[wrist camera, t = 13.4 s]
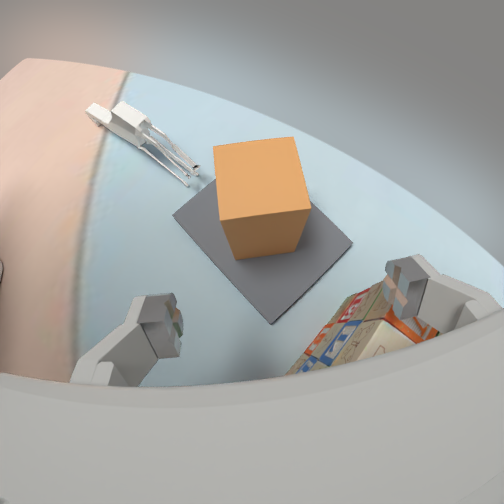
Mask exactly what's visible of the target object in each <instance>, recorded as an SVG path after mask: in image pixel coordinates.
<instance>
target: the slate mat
mask: <svg viewBox="0 0 504 504" xmlns="http://www.w3.org/2000/svg"><path fill="white" fill-rule="evenodd" d="M310 204H311V211H310V213H309V216H308V219H307V221H306V224H305V226H304V229H303V231H302V234H301V236H300V239H299V241H298V244H297V246H296V249H295V251H294V252H290V253H283V254H276V255H269V256H261V257H254V258H247V259H240V260H235V258H234V256H233V253H232V251H231V248H230V246H229V243H228V240H227V238H226V235H225V233H224V230H223V227H222V225H221V222H220V217H219V207H218V197H217V186H216V179H215V180H214V181H212V182H211V183H210V184H209V185H207V186H206V187H205V188H204V189H202V190H201V191H200V192H199V193H198V194H196V195H195V196H194V197H193V198H192V199H190V200H189V201H188V202H187V203H186V204H184V205H183V206H182V207H181V208H180V209H179V210H177V211H176V212H175V213H174V214H173V215H172V216H173V217H174V218H175V220H176V221H177V222H178V223H179V224H180V225H181V226H182V228H183V229H184V230H185V231H186V232H187V233H188V234H189V236H190V237H191V238H192V239H193V240H194V241H195V242H196V244H197V245H198V246H199V247H200V248H201V249H202V250H203V251H204V253H205V254H206V255H207V256H208V257H209V258H210V259H211V260H212V261H213V263H214V264H215V265H216V266H217V267H218V268H219V269H220V270H221V271H222V273H223V274H224V275H225V276H226V277H227V278H228V279H229V280H230V281H231V282H232V284H233V285H234V286H235V287H236V288H237V289H238V290H239V291H240V292H241V293H242V294H243V296H244V297H245V298H246V299H247V300H248V301H249V302H250V303H251V304H252V305H253V306H254V307H255V308H256V309H257V311H258V312H259V313H260V314H261V315H262V316H263V317H264V318H265V319H266V320H267V321H268V322H269V323H270V324H272V323H273V322H274V321H275V320H276V319H277V318H278V317H279V316H280V315H281V314H282V313H283V312H284V311H286V310H287V309H288V308H289V307H290V306H291V305H292V304H293V303H294V302H295V301H296V300H297V299H298V298H299V297H300V296H301V295H302V294H303V293H304V292H305V291H306V290H307V289H308V288H309V287H310V286H311V285H312V284H313V283H314V282H315V281H316V280H317V279H318V278H319V277H320V276H321V275H322V274H323V273H324V272H325V271H326V270H327V269H328V268H329V267H330V266H331V265H332V264H333V263H334V262H335V261H336V260H337V259H338V258H339V257H340V256H341V255H342V254H343V253H344V252H345V251H346V250H347V249H348V248H349V247H350V246H351V245H352V243H353V242H352V241H351V240H350V239H349V238H348V237H347V236H346V235H345V234H344V233H343V232H342V231H341V230H340V229H339V228H338V227H337V226H336V225H335V224H334V223H333V222H332V221H331V220H330V219H329V218H328V217H327V216H326V215H324V214H323V213H322V212H321V211H320V210H319V209H318V208H317V207H316V206H315V205H314V204H313V203H312V202H311V201H310Z"/></svg>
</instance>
